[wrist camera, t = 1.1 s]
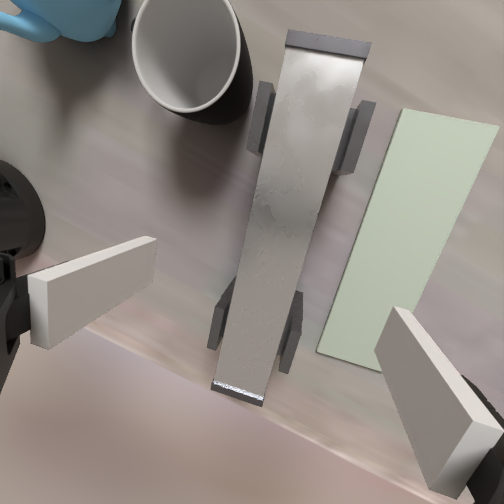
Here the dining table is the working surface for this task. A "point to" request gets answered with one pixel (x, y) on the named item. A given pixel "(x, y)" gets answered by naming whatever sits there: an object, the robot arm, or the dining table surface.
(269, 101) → the post
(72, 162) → the dining table surface
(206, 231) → the dining table surface
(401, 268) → the mat
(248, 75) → the mug
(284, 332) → the post
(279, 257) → the rail
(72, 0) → the teapot
